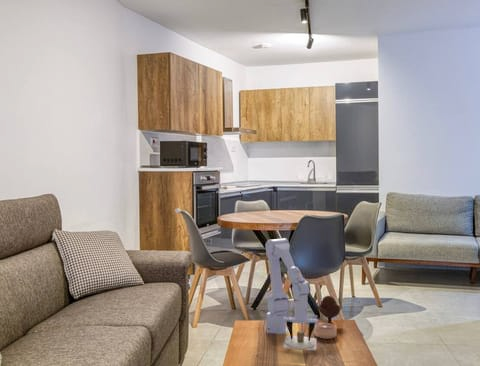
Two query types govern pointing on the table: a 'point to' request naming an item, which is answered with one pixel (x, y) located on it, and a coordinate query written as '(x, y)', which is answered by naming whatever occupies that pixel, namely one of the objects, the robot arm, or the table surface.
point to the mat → (297, 348)
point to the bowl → (325, 330)
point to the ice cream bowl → (329, 308)
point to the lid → (300, 341)
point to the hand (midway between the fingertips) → (300, 339)
